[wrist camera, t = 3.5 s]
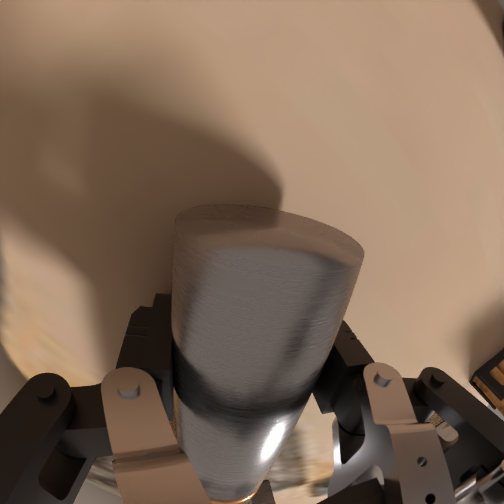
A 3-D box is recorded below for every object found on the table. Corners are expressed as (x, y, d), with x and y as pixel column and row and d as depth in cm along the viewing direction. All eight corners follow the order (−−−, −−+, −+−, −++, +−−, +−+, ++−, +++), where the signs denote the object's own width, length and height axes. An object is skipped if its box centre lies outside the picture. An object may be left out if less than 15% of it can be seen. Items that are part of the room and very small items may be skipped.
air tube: (180, 198, 8) (163, 259, 4) (318, 214, 9) (404, 274, 5) (182, 472, 15) (186, 522, 11) (241, 471, 16) (252, 519, 12)
